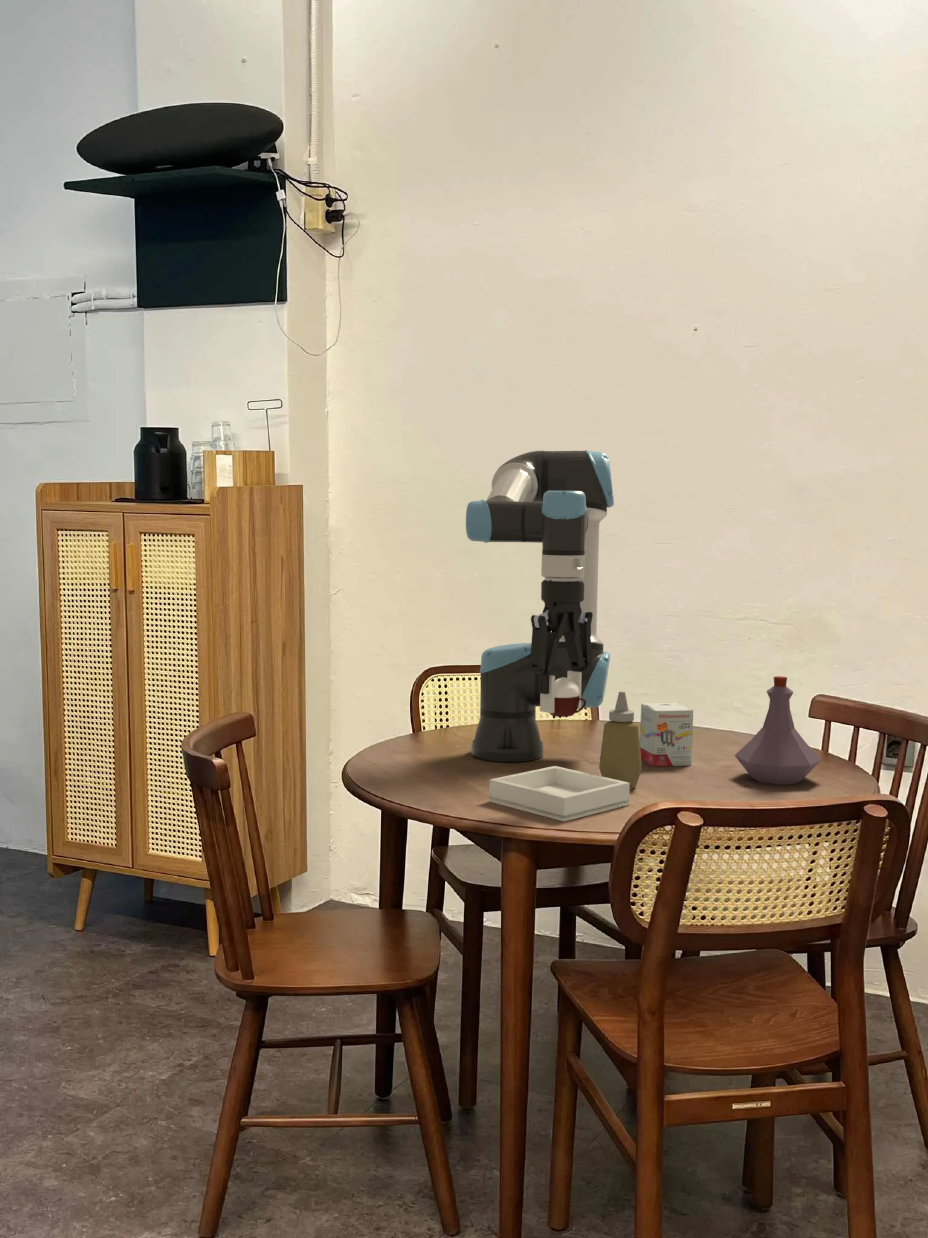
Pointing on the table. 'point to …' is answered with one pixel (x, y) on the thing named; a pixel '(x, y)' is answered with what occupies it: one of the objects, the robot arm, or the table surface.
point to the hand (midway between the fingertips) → (560, 709)
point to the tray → (559, 793)
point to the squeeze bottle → (621, 745)
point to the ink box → (666, 734)
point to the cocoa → (566, 698)
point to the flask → (778, 744)
